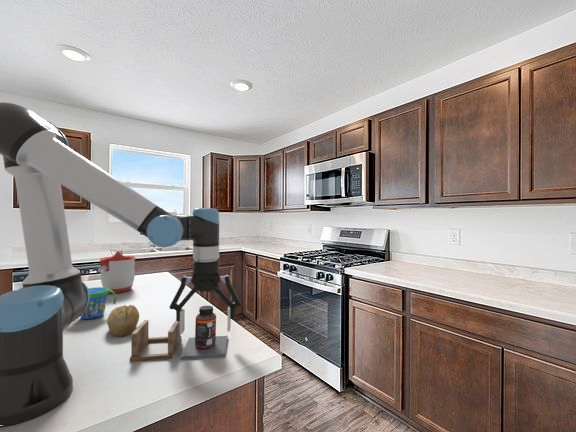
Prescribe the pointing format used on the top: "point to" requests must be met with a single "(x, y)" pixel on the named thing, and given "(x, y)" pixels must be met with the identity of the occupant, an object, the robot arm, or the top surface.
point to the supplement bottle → (205, 328)
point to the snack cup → (96, 303)
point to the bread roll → (123, 320)
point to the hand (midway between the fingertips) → (205, 330)
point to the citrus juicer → (117, 272)
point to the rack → (141, 340)
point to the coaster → (214, 351)
